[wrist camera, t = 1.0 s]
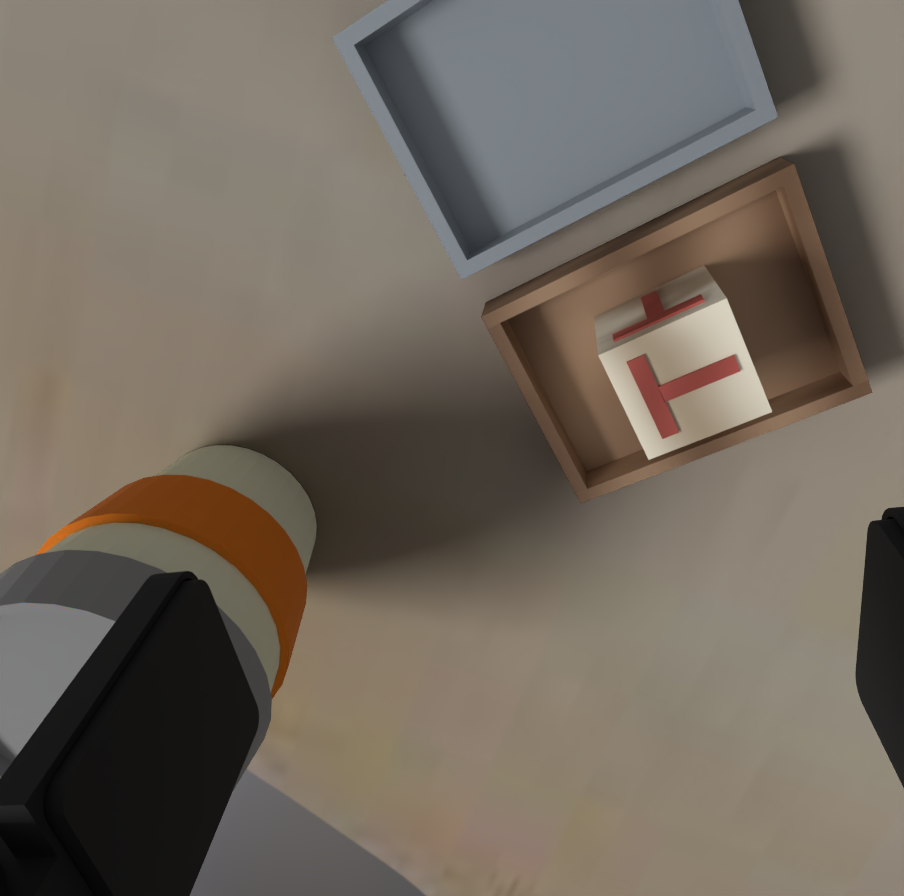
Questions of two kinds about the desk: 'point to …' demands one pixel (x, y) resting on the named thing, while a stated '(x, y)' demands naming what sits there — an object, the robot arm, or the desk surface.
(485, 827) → the desk surface
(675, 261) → the walnut tray
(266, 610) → the reusable coffee cup
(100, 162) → the desk surface
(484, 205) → the grey tray
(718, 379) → the letter cube
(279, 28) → the desk surface
